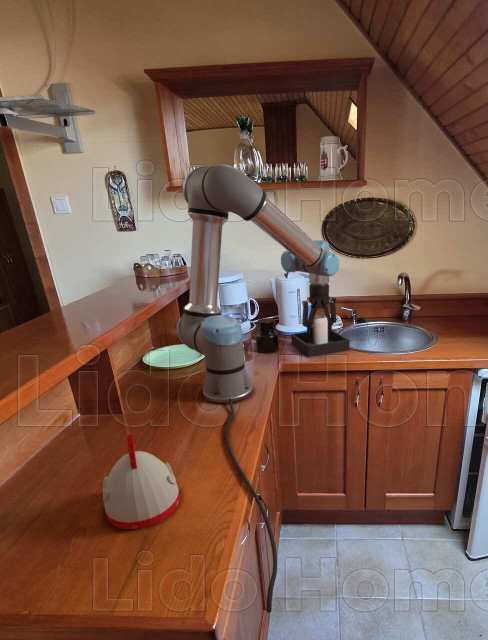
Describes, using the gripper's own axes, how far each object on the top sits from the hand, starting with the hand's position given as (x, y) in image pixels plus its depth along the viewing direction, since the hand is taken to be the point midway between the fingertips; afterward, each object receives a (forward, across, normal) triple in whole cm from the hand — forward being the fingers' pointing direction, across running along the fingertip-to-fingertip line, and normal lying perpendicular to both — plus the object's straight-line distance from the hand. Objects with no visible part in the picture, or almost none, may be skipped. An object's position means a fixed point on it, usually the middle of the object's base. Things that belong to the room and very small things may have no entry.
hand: (319, 341), depth 168 cm
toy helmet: (+2, +72, +71) cm, 101 cm away
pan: (+2, 0, 0) cm, 2 cm away
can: (+2, 0, 0) cm, 2 cm away
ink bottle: (+2, +20, -6) cm, 21 cm away
